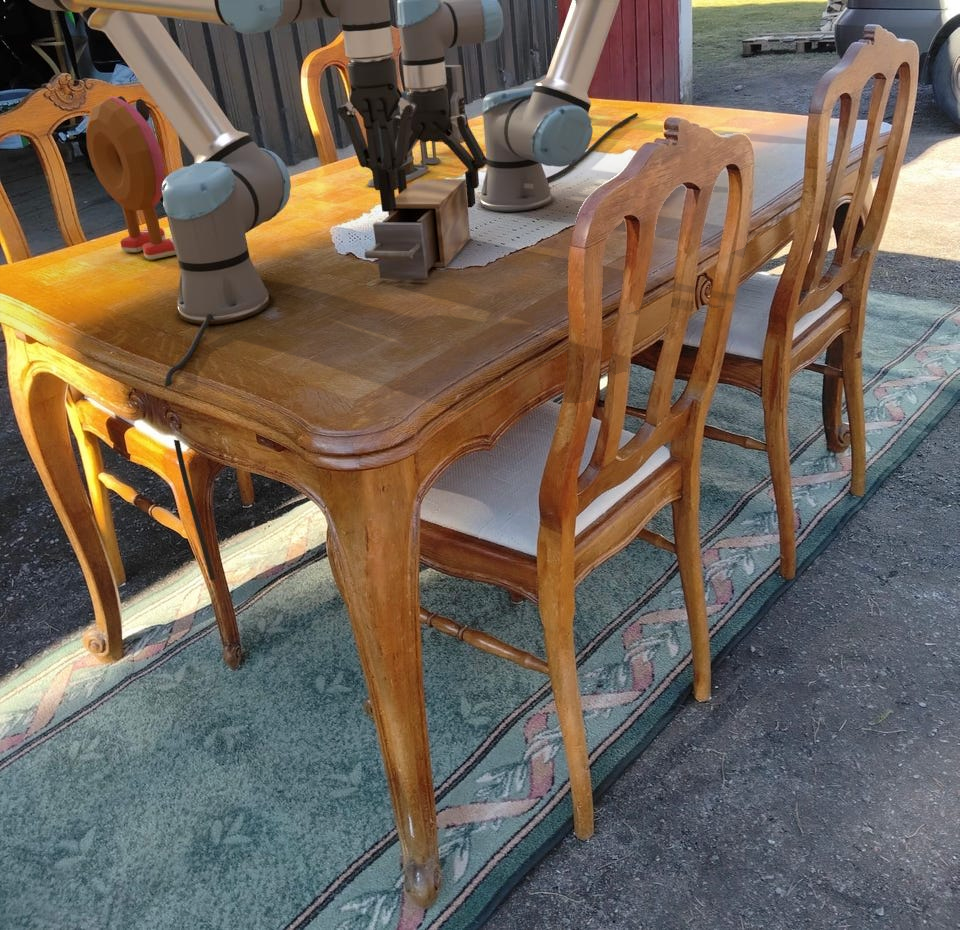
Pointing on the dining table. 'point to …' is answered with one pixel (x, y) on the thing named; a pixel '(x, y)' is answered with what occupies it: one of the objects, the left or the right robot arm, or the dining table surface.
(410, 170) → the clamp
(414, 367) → the dining table surface
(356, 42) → the left robot arm
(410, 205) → the cabinet
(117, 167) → the toy
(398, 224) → the drawer
